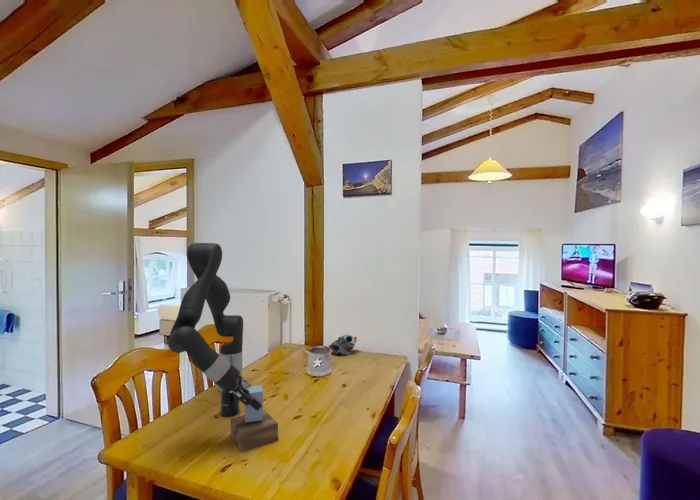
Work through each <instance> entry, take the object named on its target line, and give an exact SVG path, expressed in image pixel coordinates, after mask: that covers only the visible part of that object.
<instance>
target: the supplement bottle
mask: <svg viewBox="0 0 700 500" xmlns="http://www.w3.org/2000/svg"><path fill="white" fill-rule="evenodd" d="M232 391H233V390H232V389H231V388H228V389H227V390H222V392H220V414H221V415H222V416H223V417H233V416H236V415H238V414H239V413H240V406H241V404H240V402H241V401H239V400H238V399H237V398H235V397H234V393H233V392H232Z"/></svg>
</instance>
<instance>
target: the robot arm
mask: <svg viewBox="0 0 700 500" xmlns="http://www.w3.org/2000/svg"><path fill="white" fill-rule="evenodd" d="M186 250H187V251H186V257H187V262H188V264H189V266H190V268H191V271H192V273H193V274H194V275H195V278H196V279H197V280H196V281H195V282H194V283H193V284H192V285H191V286H190V287H189V288H188V290H186V292H185V293H184V295H183V297H182V300H181V303H180V306H179V310H178V313H177V317H176V319H175V321H174V323H173V325H172V329H171V331H170V333H169V336H168V340H167V346H168V348H169V350H170V351H171V352H173V353H175V354H181V353H184V352H186V353H187V355H189V357H191V363H192V364H193V366H194V367H196V369H198V370H200V372H202V373H203V374H204V375H205V376H206V377H207V378H208V379H209V380H210V381H211V382H213V383H214V384H215V385H216V386H217V387H218V388H219V389H220V391H219V392H220V393H221V392H222V390H227V389H228V388H231V389H232V390H233V391H232V392H233V393H234V397H235V398H237V399H238V400H239V401H240V402H241V403H242V404H243V405H244V406H245V405H246V406H247V405H251V406H252V407H253V408H254V409H255V410H257V411H258V410H259V409H260V408H261V407H262V405H261V404H260V403H259V402H258V401H257V400H256V399H254V397H252V396H251V395H250V394H249V393H250V391H249V390H248V389H247V387H250V386H252V385H251V384H250V383H249V382H248V381H247V380H246V379H244V378H243V339H244V338H243V337H244V335H243V334H244V318H243V317H242V315H233V314H232V315H228V314H227V315H226V314H224V311H225V310H226V308H227V307H228V305H229V303H230V301H231V294H230V290H229V287H228V285H227V283H226V282H225V281H224V280H223V279H222V278H221V277H220V276H218V275H217V274H218V271H219V268H220V266H221V263H222V259H223V249H222V247H221V245H220V244H219V243H214V242H195V243H194V242H193V243H191V244H189V245H188V246H187V249H186ZM205 302H206V304H207V305H208V308H209V310H210V313H211V315H212V318H213V322H214V327H215V330H216V334H217V335H218V336H219V337H223V338H226V337H227V338H230V337H231V338H233V339H232V340H231V341H230V342H227V343H226V342H225V343H224V344H222V345H221V346H220V350H219V351H220V352H219V353H220V354H219V353H218V352H217V351H216V350H214V349H213V348H212V347H211V346H210V345H209V344H208V342H207V341H206V340H205V338H204V337H203V336H202V334H201V333H200V332H199V331H198V330H197V329H196V325H197V324H198V323H199V322H200V321H201V320H200V319H201V317H202V313H203V310H204V307H205ZM245 392H246V393H245ZM245 398H248V400H246V399H245Z"/></svg>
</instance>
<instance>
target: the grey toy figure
mask: <svg viewBox="0 0 700 500" xmlns="http://www.w3.org/2000/svg"><path fill="white" fill-rule="evenodd" d="M356 343H357V336H353V335H352V334H344V335H341V336H339V337H337V339H336V340H334V341H333V342H331V344H329V345H328V348H329V349H330V348H331V349H330V350H331V351H332V352H333V353H335V354H336V355H339V356H340V357H343V356H345V357H346V356H349V355H350V353H351V351H352V350H353V349H354V348H355V345H356Z"/></svg>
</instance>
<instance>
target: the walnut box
mask: <svg viewBox="0 0 700 500" xmlns="http://www.w3.org/2000/svg"><path fill="white" fill-rule="evenodd" d="M230 436H231V439H233V442H234V443H235V445H236V446H237V447H238V448H239V450H240V452H241V453H244V452H247V451H251V450H254V449H256V448H260V447H263V446H265V445H268V444H273V443H275V442H278V441H279V423H278V422H277V420H275V419H274V418H273V417H272V416H271V415H270V414H269V413H268V411H267V410H265V409H263V420H260V421H252V422H245V414H243V415H241V416H240V415H239V416H235V417H232V418H230Z"/></svg>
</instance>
